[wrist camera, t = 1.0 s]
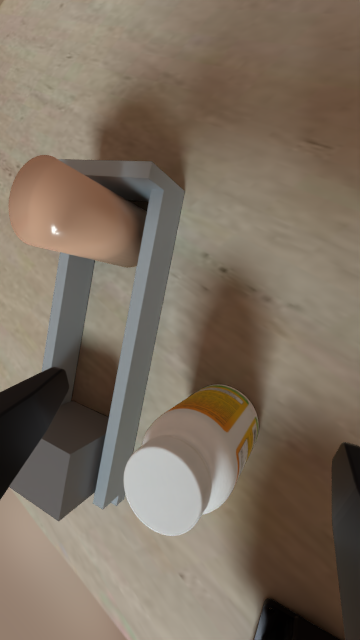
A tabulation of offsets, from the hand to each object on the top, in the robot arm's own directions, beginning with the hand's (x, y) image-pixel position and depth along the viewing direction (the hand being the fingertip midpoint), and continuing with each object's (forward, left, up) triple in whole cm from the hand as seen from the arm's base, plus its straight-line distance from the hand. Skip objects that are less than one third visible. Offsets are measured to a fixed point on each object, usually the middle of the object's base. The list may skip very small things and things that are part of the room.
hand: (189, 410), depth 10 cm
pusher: (-11, +12, -12) cm, 21 cm away
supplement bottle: (-5, +1, -13) cm, 14 cm away
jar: (+7, +12, -12) cm, 19 cm away
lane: (-2, +12, -12) cm, 18 cm away
